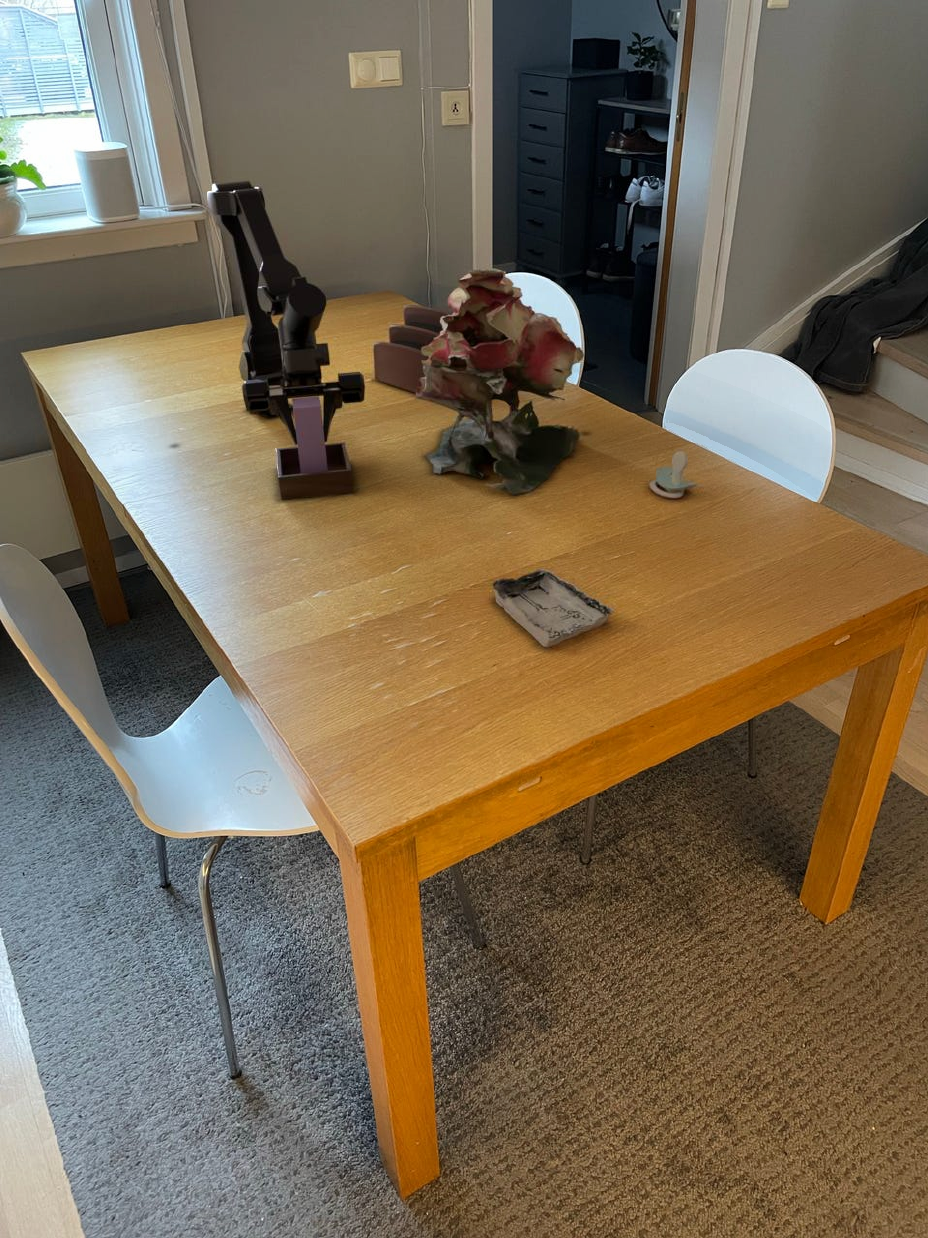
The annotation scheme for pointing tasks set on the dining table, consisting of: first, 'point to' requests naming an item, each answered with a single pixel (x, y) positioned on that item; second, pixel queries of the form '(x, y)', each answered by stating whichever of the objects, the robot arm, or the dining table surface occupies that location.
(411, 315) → the letter holder
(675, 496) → the pacifier
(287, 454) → the tray
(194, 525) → the dining table surface
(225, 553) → the dining table surface
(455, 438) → the rose bouquet
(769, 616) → the dining table surface
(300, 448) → the block
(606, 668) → the dining table surface
